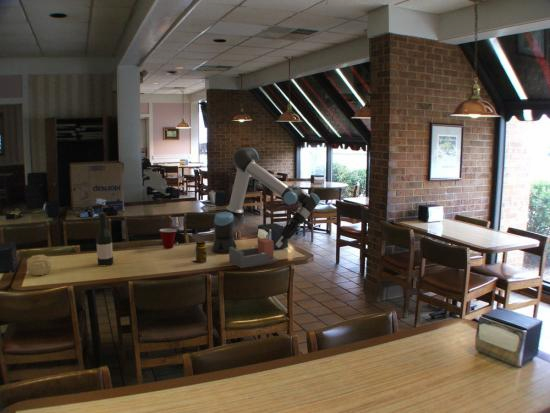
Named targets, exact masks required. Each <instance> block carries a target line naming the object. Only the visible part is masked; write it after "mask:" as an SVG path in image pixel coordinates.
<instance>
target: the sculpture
mask: <svg viewBox="0 0 550 413" xmlns="http://www.w3.org/2000/svg"><path fill="white" fill-rule="evenodd" d="M50 259H51V258H50V257H49V256H47V255H45V254H36V255H31V257H29V258H28V259H26V268H27V271H28V273H29V274H30V275H31V276H33V275H41V276H43V275H42V274H45V275H47V274H48V273H49V272H50V271H51V268H52V263H51V262H52V261H51V260H50ZM46 273H47V274H46Z"/></svg>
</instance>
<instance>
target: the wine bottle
mask: <svg viewBox="0 0 550 413" xmlns="http://www.w3.org/2000/svg"><path fill="white" fill-rule="evenodd" d="M106 217H107V214H106V212H105V211H104V212H103V211H102V212H99V213H98V218H99V230H98V232H97V234H96V236H95V241H96V256H97V265H98V266H99V265H109V266H112V265H113V264H114V253H113V238H112V233H111V232H110V231H109V229H108V228H107V218H106Z"/></svg>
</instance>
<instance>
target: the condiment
mask: <svg viewBox="0 0 550 413" xmlns="http://www.w3.org/2000/svg"><path fill="white" fill-rule="evenodd" d="M195 244H196V245H195V260H190V262H191V263H193V264H195V265H199V264H206V263H205V262H207V263H209V262H210V261H209V260H208V258H207V246H206V245H207V244H206V241H205V240H198V241H196V243H195Z"/></svg>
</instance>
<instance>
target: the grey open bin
mask: <svg viewBox="0 0 550 413" xmlns="http://www.w3.org/2000/svg"><path fill="white" fill-rule="evenodd" d="M228 260H229V261H228V262H229V263H231V262H232V263H231V264H233V263H234V264H233V265H235V264H236V265H238V266H239V267H240V269H246V268H251V267H257V266H261V265H268V264H272V263H278V262H279V259H278V258H276V257H274V256H273V258H269V253H263V252H262V253H261V254H258V246H254V247H253V246H251V247H248V248H242V249H235V248H234V247H229V253H228ZM236 265H235V266H236ZM238 266H237V267H238ZM239 267H238V268H239Z"/></svg>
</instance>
